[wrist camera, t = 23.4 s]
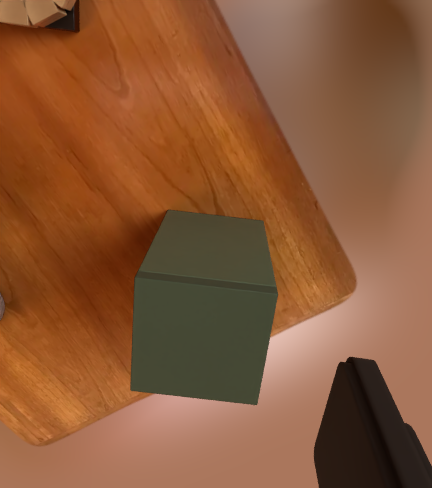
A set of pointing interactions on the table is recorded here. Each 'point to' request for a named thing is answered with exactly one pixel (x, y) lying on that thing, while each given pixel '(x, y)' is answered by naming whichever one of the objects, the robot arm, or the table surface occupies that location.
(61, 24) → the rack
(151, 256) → the block
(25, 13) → the ring
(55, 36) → the table surface
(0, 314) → the travel mug
